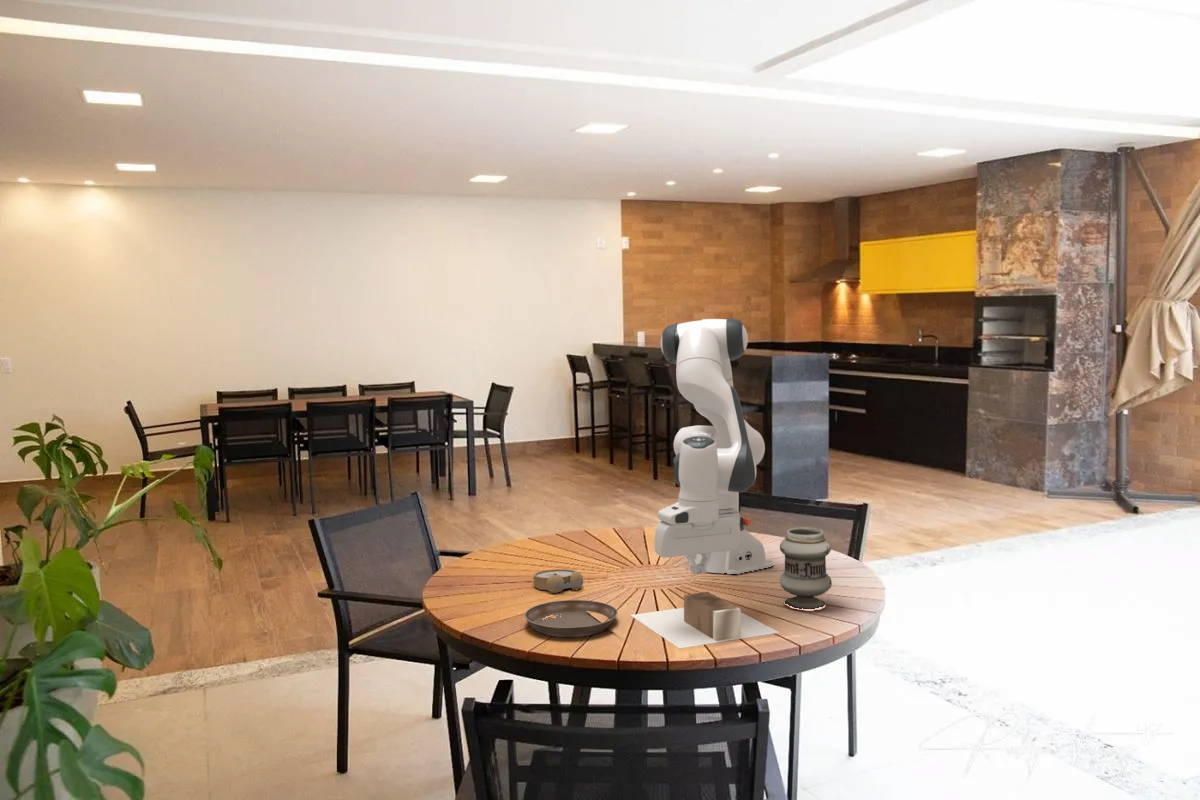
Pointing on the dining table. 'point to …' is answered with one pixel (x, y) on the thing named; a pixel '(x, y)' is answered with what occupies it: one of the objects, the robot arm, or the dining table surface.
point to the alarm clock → (558, 580)
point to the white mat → (686, 635)
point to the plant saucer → (570, 618)
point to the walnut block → (712, 616)
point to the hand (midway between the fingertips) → (698, 573)
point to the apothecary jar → (805, 567)
